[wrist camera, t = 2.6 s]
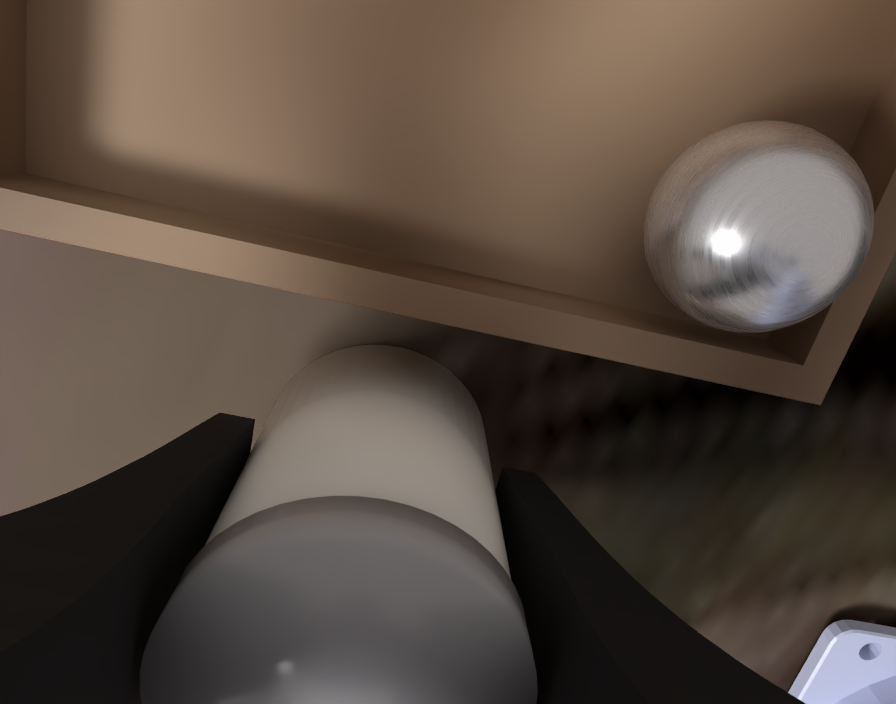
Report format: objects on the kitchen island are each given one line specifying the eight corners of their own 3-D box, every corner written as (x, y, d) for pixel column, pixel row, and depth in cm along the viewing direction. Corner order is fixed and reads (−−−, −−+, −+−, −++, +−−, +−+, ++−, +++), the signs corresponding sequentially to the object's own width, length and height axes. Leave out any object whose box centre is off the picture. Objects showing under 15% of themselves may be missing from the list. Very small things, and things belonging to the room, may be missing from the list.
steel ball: (828, 142, 10) (976, 158, 8) (755, 315, 11) (861, 384, 9) (655, 96, 10) (743, 96, 7) (596, 278, 11) (652, 338, 8)
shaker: (516, 366, 13) (588, 579, 7) (460, 555, 14) (482, 850, 9) (279, 317, 12) (154, 504, 6) (249, 518, 14) (127, 807, 8)
